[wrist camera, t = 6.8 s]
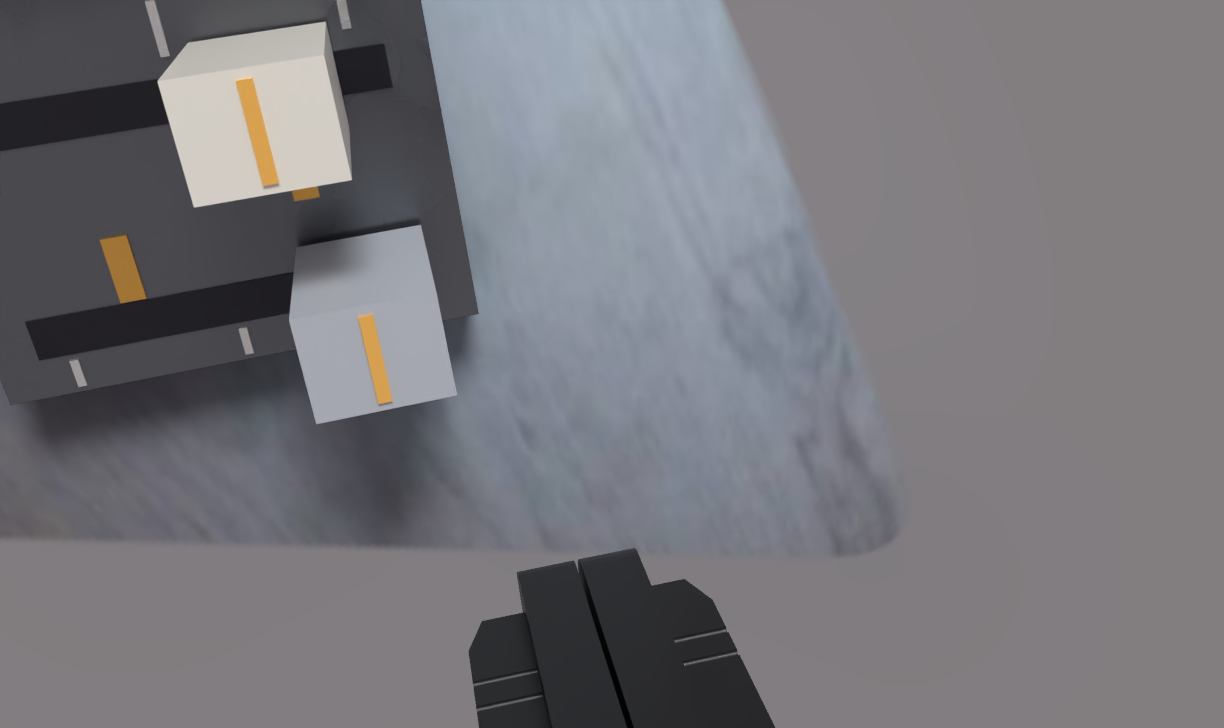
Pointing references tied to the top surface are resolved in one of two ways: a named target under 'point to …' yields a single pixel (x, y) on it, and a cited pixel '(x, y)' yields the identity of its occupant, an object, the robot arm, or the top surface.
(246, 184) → the ivory cap
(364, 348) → the slate fader cap
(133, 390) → the top surface
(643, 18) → the top surface
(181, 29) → the fader console
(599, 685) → the robot arm
